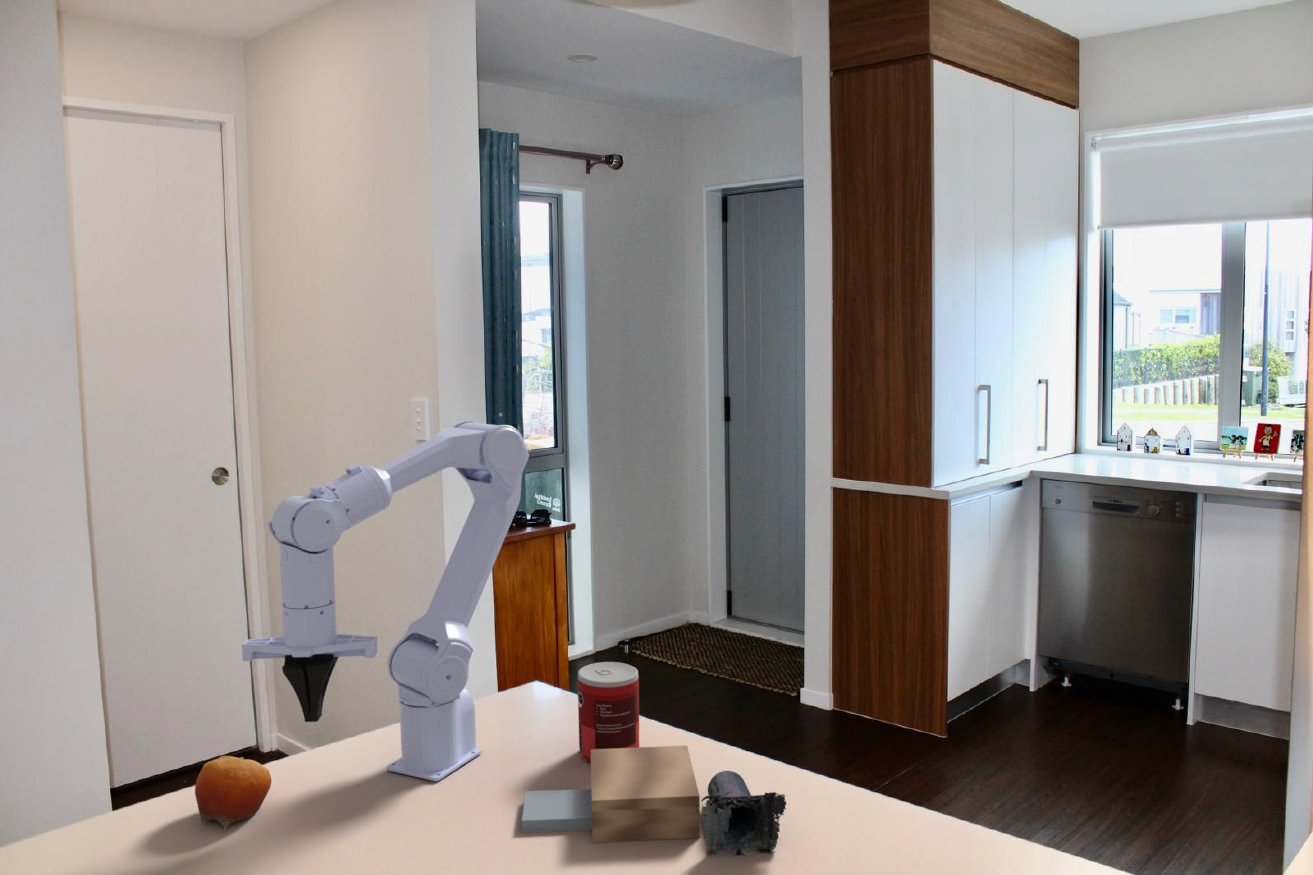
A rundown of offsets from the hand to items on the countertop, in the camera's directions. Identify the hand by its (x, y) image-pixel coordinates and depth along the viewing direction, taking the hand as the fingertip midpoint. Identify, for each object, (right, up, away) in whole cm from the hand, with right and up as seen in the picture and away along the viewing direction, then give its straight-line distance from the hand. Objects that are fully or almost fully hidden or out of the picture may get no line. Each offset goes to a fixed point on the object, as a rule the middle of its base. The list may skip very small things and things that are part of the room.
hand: (313, 718), depth 115 cm
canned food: (+33, -9, +14) cm, 37 cm away
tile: (+31, -11, -2) cm, 33 cm away
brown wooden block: (+37, -10, -1) cm, 39 cm away
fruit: (-9, -11, -1) cm, 14 cm away
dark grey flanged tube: (+48, -11, -5) cm, 49 cm away
